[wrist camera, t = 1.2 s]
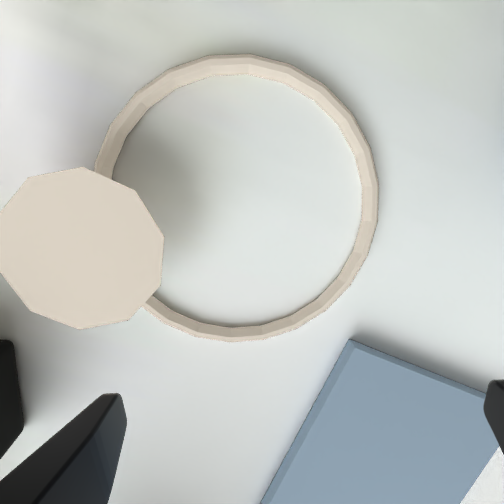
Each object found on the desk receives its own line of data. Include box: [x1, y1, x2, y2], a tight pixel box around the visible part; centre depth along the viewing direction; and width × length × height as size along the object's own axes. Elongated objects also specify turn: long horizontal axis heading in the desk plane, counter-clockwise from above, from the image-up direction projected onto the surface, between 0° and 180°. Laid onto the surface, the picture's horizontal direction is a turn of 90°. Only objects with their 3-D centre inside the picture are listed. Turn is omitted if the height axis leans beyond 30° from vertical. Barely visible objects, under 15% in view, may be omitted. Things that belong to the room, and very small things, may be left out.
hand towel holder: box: [0, 54, 379, 342], centre depth 20 cm, size 17×4×21 cm
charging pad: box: [260, 339, 499, 504], centre depth 26 cm, size 16×13×1 cm
